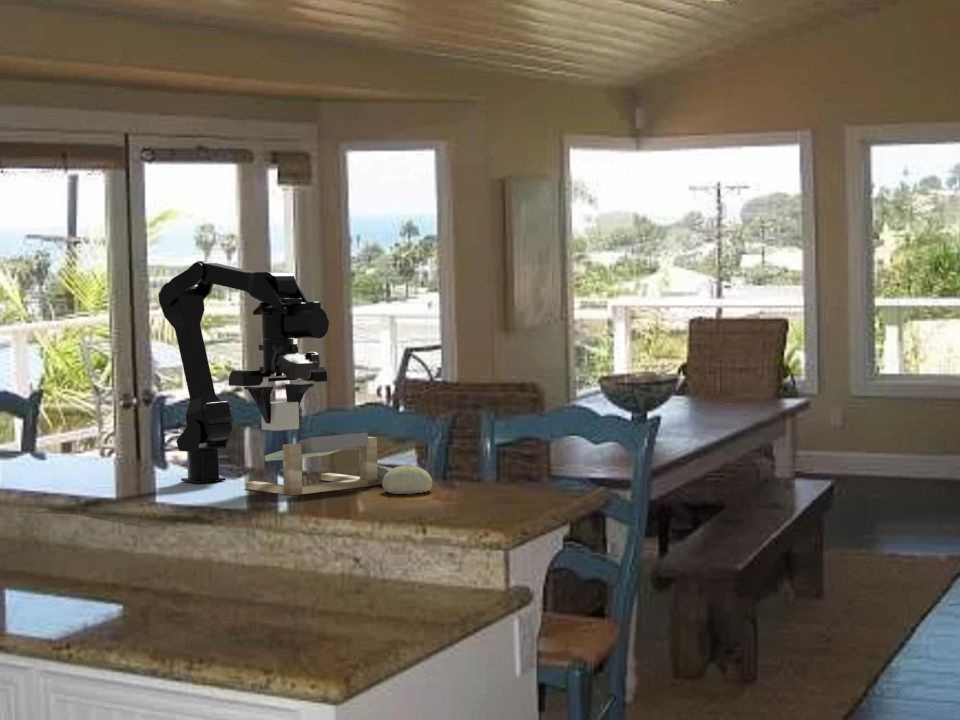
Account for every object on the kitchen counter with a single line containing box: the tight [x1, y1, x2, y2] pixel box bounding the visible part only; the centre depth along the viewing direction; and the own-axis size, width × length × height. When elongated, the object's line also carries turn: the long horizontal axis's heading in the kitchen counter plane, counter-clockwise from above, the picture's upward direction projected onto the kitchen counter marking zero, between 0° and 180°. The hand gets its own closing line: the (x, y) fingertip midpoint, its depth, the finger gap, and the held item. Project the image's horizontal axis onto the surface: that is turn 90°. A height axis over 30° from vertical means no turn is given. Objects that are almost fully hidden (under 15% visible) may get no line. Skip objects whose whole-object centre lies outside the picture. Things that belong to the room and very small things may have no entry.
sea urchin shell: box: [381, 465, 433, 495], centre depth 282 cm, size 9×8×8 cm
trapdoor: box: [264, 432, 369, 462], centre depth 290 cm, size 15×14×2 cm
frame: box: [245, 436, 379, 496], centre depth 291 cm, size 15×20×9 cm
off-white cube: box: [260, 400, 300, 431], centre depth 290 cm, size 5×5×5 cm
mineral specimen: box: [377, 464, 394, 486], centre depth 294 cm, size 6×12×4 cm, turn 38°
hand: (280, 422), depth 290 cm, fingers closed on off-white cube, 5 cm apart
